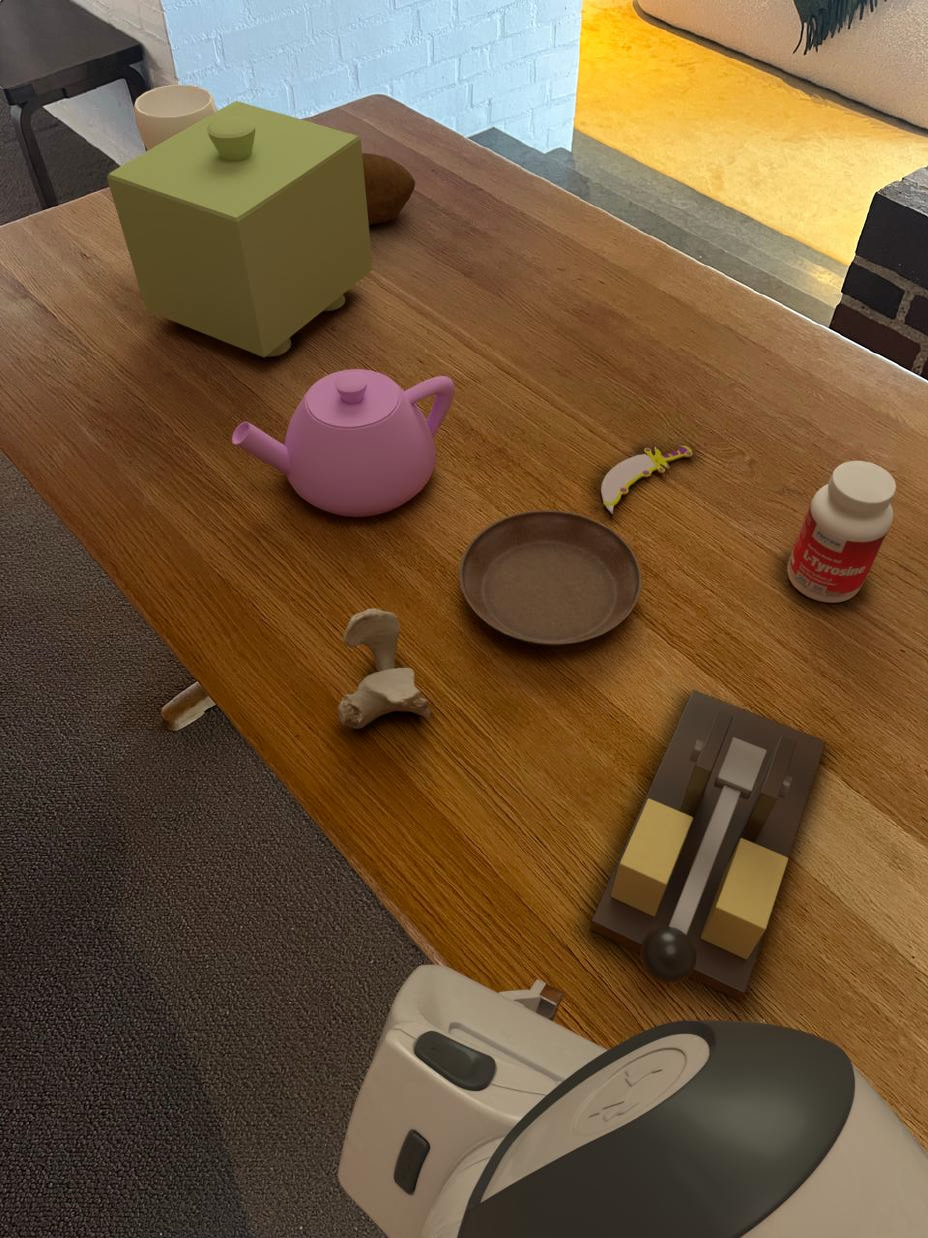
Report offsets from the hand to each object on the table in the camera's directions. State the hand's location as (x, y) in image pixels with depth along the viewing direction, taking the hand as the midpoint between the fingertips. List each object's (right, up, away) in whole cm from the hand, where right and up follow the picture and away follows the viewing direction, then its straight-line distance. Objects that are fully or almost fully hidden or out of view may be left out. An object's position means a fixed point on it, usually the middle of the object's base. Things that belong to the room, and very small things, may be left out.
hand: (636, 1044), depth 46 cm
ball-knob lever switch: (+6, +5, +13) cm, 15 cm away
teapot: (-18, +34, +43) cm, 58 cm away
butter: (+6, +3, +16) cm, 17 cm away
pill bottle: (+22, +24, +35) cm, 48 cm away
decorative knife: (+8, +34, +43) cm, 55 cm away
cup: (-40, +66, +70) cm, 104 cm away
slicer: (+9, +5, +20) cm, 23 cm away
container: (-30, +55, +61) cm, 87 cm away
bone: (-14, +13, +27) cm, 33 cm away
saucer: (-1, +22, +34) cm, 41 cm away
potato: (-20, +70, +73) cm, 103 cm away
